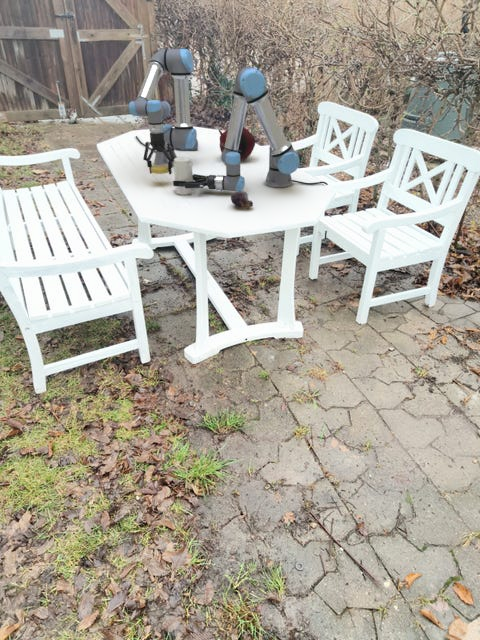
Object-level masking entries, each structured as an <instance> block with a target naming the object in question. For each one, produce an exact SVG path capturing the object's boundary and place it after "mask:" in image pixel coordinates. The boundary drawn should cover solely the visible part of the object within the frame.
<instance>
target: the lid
mask: <svg viewBox="0 0 480 640" xmlns="http://www.w3.org/2000/svg"><path fill="white" fill-rule="evenodd" d="M151 172H152V173H151V174H156V175H163V174H169V168H168V165H155V164H154V165H152V167H151Z"/></svg>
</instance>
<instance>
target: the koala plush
mask: <svg viewBox="0 0 480 640" xmlns="http://www.w3.org/2000/svg"><path fill="white" fill-rule="evenodd" d="M175 149H176V150H179V151H197V150H198V149H199V141H198V137H197V138H196V143H195V145H194V147H193V148H187V149H186V148H175Z"/></svg>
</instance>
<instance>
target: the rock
mask: <svg viewBox="0 0 480 640" xmlns="http://www.w3.org/2000/svg"><path fill="white" fill-rule="evenodd" d="M230 200H231V203H232V204H233V206H234V207H235V208H237V209H250V208H252V207H254V205H253V204H254V203H253V201H252V200H250V199H249V195H248V192H247V191H244V190H243V191H235V192H234V193H231V195H230Z"/></svg>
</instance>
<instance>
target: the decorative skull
mask: <svg viewBox="0 0 480 640" xmlns="http://www.w3.org/2000/svg"><path fill="white" fill-rule="evenodd" d="M227 132H228V129H226V130H224V131H222V130H220V129H218V133H219V135H220V136H219V150H220V152H221V153H222V152H223V151H224V147H225V142H226V137H227ZM256 142H257V141H256V137H255V135H254V134H253V133H251V131H249V130H248V129H247V128H246V127H244V126H243V129H242V134H241V138H240V143H239V147H238V153H239V154H240V159H241V161H240V162H242V161H244V160H246V159H248V158H249V157H250V156H251V155H252V153H253V151H254V149H255V147H256Z"/></svg>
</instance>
